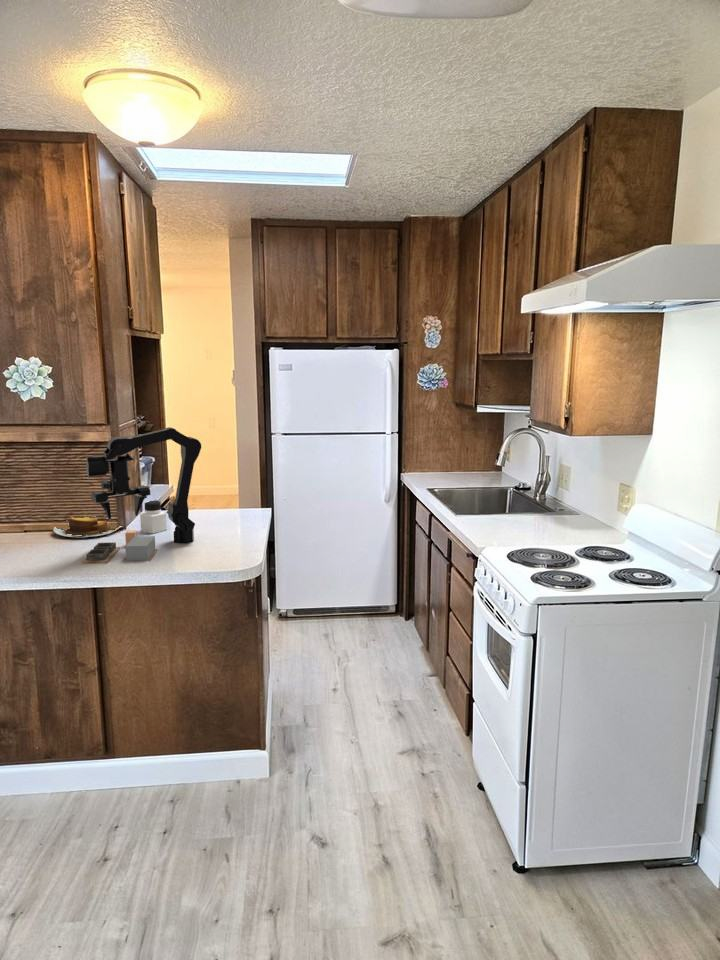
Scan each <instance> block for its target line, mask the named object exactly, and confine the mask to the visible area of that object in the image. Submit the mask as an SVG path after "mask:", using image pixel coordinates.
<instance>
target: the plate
mask: <svg viewBox="0 0 720 960" xmlns="http://www.w3.org/2000/svg"><path fill="white" fill-rule="evenodd" d="M155 549H156V548H155ZM158 551H159V549H158V548H157V549H156V550H155V551H154V553H153V554H152V555H151V557H150V558H149V560H139V561H138V562H151V561H152V560H153V558H154V557H155V555H156V554H157V552H158ZM123 562H127V561H126V557H124V560H123Z"/></svg>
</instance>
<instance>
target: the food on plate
mask: <svg viewBox="0 0 720 960" xmlns="http://www.w3.org/2000/svg"><path fill="white" fill-rule="evenodd" d="M89 517H90V516H85V517H84V518H74V517H73V516H70V517H69V519H68V520H69V521H68V520H67V521H68V522H69V527H70V529H67V530H65V532H64V530H61V529H57V528H56V527H55V526H54V527H53V529H52V533H54V534H56V535H57V536H62V537H65V538H66V537H69V538H74V536H68V535H67V534H72V535H82V536H85V537H81V538H83V539H84V538H89V537H98V536H104V535H108V534H111V533H114V532H115V531H117V530H119V529H121V528H123V527H124V525H123V526H119V527H118V528H116V529H115V530H112V531H109V529H110V526H107V522H106V520H105V521H97V519H94V518H89ZM103 532H108V533H107V534H106V533H105V534H100V533H103ZM118 533H121V532H118ZM76 538H77V539H78V538H80V537H79V536H76Z"/></svg>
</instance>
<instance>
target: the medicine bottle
mask: <svg viewBox="0 0 720 960" xmlns="http://www.w3.org/2000/svg"><path fill="white" fill-rule="evenodd" d="M161 504H162V503H161V501H160V500H155V499H154V500H153V499H152V500H147V501H145V502H144V512H142V513H139V517H140V521H139V522H140V530H141V531H140V532H145V533H149V534H157V533H161V532H164V531H167V528H168V527H167V525H168V524H167V512H163V511H162V505H161Z"/></svg>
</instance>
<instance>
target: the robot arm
mask: <svg viewBox="0 0 720 960" xmlns="http://www.w3.org/2000/svg"><path fill="white" fill-rule="evenodd" d="M170 440H172V442H174V443H176V444H177V445H179V446H180V455H181V463H180V470H179V476H178V482H177V487H176V492H175V497H174V500H173V502H169V501H168V508H167V511H166V514H167V515H168V516H167V517H168V520H170V521H171V522H172V523H173V525H174V526H175V528H174V531H173V543H176V544H180V545H181V544H186V545H187V544H190V543H191V544H193V542H194V541H195V536H194V535H195V533H194V529H195V525H196V523H195V522H194V521H193V520H191V519H190V518H189V505H188V504H189V503H188V500H189V499H188V498H189V493H190V489H191V484H192V483H191V482H192V477H193V472H194V466H195V462H196V461H197V459H198V457H199V456H200V453H201V450H202V443H201V442H200V440H199V439H197V438H194V437H192V436H186V435H185V434H183V433H181V432H179V431H178V430H177V429H175V428H173V427H170V426H169V427H166V428H164V429H163V428H162V429H158V430H155V431H151V432H146V433H142V434H138V435H132V436H129V435H128V436H125V435H124V436H114V437H111V438H110V439H109V440H108V442H107V443H106V444H107V448H106V449H105V450H104V452H103V453H102V454H101V455H99V456H91V455H90V456H86V465H85V468H86V469H85V470H86V475H87V477H88V478H93V477H100V476H103V477H104V476H107V474H109V473H110V477H109V480H108V479H102V480H100V485H101V490H100V491H99V490H98V491H93V492H92V493H91V494H90V499H91V502H94V503H97V504H98V505H100V506H101V507H102V509H103V511H104V513H105V514H106V517H108V519H109V520H111V518H112V514H111V513H112V512H111V505H110V503H111V502H110V501H109V499H112V498H120V497H127V496H133V499H134V516H135V517H138V515H139V512H140V509H141V507H142V504H143V503H144V500H145V499H147V498H148V496H151V495H152V494H151V489H150V487H149V486H146V485H137V486H133V489H131V488H130V487H131V486H130V480H131V477H130V476H129V475H130V474H129V461H134V458H133V457H132V456H131V455H130V454H129V453H130V452H132V451H134V450H135V449H138V448H141V447H145V446H148V445H152V444H156V443H157V444H158V443H162V442H165V441H170ZM104 490H107V492H106V491H104Z"/></svg>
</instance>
